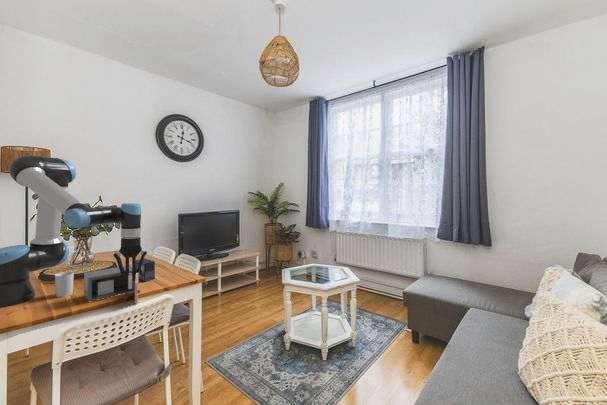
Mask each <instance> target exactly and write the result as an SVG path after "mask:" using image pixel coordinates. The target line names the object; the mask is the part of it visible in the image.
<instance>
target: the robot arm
mask: <svg viewBox="0 0 607 405" xmlns="http://www.w3.org/2000/svg"><path fill="white" fill-rule="evenodd" d="M8 173H9V175H10V177H11V179H13V180H14V181H15V182H16V183H17V184H19V185H20V186H22V187H27V188H28V189H30V190H31V191H32V192H34V193H35V194H36V195H37V196H38V197H37V198H38V200H37V209H36V210H37V212H36V222H35V223H36V224H35V235H34V236H35V237H34V238H33V239H32V240H30V243H29V245H27V244H15V245H9V246H5V247H1V248H0V308H2V307H10V306H14V305H17V304H20V303H24V302H27V301H30V300H32V299H33V298H35V296H36V290H35V288H34V286H33V284H32V282H31V280H30V273H33V272H36V271H40V270H44V269H49V268H53V267H56V266H58V265H59V266H60V265H62V264H64V263H65V261H67V259H68V257H69V255H70V249H69V245H68V244H67V243H65V241H64V239H63V238H61V228H62V227H61V226H62V225H61V224H62V219H63V221H64V222H65V226H67V227H69V228H74V229H75V228H84V227H91V226H92V227H93V226H98V225H99V226H100V225H108V224H109V225H110V224H118V225H119V224H120V237H121V238H120V248H119V251H117V252H114V253H113V257H114V259H115V260H116V262H117V265H118V266H117V267H119V270H120V273H121V274H125V276H126V277H125V281H126V282H128V289H132V287H133V281H135V276H136V273H138V272H140V269H141V266H142V262H143V259H144V258H145V257H146V255H147V253H148V251H147V250H144V249H143V247H142V245H141V243H142V242H141V239H142V238H141V236H142V235H141V234H142V232H141V230H142V226H141V223H142V222H141V221H142V210H141V209H142V207H141V204H140V203H137V202H135V203H133V202H131V203H130V202H125V203H121V205H120V206H110V205H108V206H104V205H103V206H100V207H89V206H87V205H86V204H84V203H83V202H82V201H80V200H79V199H77V197H75V196H74V195H72V194H71V193H70V192H69V191H67V190H66V189H68V188H69V184H70V183H73V182H74V180H75V179H76V177H77V173H76V168H75V167H74V165H73V164H72V163H71V161H69V160H66V159H64V158H58V157H49V156H39V155H34V154H33V155H32V154H31V155H30V154H26V155H20V156H17V157H16V158H14V159H13V160H12V161H11V162H10V164H9V167H8ZM62 215H63V218H62ZM139 254H140V255H141V256H140V258H139V259H140V262H139V265H138V269H137V270H136V260H137V257H138V255H139ZM121 255H122V256H123V257H124V258H125V259H124V260H125V265H123V262H122V259H121ZM130 259H131V267H132V273H129V266H130ZM123 266H125V271H124V268H123Z"/></svg>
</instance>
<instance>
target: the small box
mask: <svg viewBox="0 0 607 405" xmlns="http://www.w3.org/2000/svg"><path fill="white" fill-rule="evenodd" d="M140 259H141V258H139V259H136V270H137V269H138V265H139V262H140ZM155 265H156V262H155V260H151V259H148V258H145V257H144V259H143V262H142V266H141V269H140V272H138V281H139V282H142V283H146V282H150V281H153V280H155V278H156V270H155V268H156V267H155ZM135 279H136V276H135Z"/></svg>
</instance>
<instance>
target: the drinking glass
mask: <svg viewBox="0 0 607 405" xmlns="http://www.w3.org/2000/svg"><path fill="white" fill-rule="evenodd" d="M74 274H75V272H74V271H70V270H69V271H62V272H58V273H55V274H54V285H55V286H54V287H55V288H54V289H55V297H57V298H63V297H67V296H70V295H73V294H74V292H73V291H74V277H75V276H74Z"/></svg>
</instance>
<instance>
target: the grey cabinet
mask: <svg viewBox="0 0 607 405" xmlns="http://www.w3.org/2000/svg"><path fill="white" fill-rule="evenodd" d="M123 268H124V271H125V265H123ZM129 273H132V265H129ZM83 277H84V278H83V280H84V282H83V284H84V285H83V291H84V292H83V293H84V294H83V295H84V298H85V297H86V298H85V300H86V299H87V300H88V301H87V300H86V301H87V303H90V302H89V301H93V300H97V299H101V300H103V299H102V298H106V297H110V298H112V297H111V296H114V297H116V296H115V295H118V294H123V293H127V294H130V293H129V292H132V293H135V292H134V291H135V281H133V287H132V289H128V282H126V281H125V277H126V276H125V274H121V273H120V270H119V266H117V267H112V268H105V269H100V270H93V271H87V272H84V274H83ZM123 295H124V294H123ZM106 299H107V298H106ZM97 301H98V300H97ZM93 302H94V301H93Z"/></svg>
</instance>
